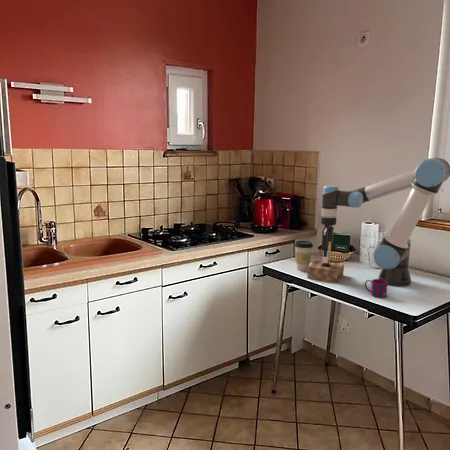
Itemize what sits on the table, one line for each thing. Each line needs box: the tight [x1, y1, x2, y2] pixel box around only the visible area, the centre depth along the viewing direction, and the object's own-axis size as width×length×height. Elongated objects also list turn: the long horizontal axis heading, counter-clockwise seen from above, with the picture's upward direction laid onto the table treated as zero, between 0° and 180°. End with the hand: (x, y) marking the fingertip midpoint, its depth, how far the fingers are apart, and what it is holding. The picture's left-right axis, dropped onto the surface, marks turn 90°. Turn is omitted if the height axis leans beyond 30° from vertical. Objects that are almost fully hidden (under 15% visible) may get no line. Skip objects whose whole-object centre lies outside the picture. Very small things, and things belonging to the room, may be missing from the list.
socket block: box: [306, 259, 345, 283], centre depth 234 cm, size 15×14×6 cm
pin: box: [322, 241, 332, 267], centre depth 233 cm, size 4×4×14 cm
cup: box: [364, 278, 389, 299], centre depth 208 cm, size 7×10×7 cm
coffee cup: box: [294, 240, 314, 272], centre depth 246 cm, size 10×10×15 cm
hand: (326, 261), depth 234 cm, fingers closed on pin, 3 cm apart
